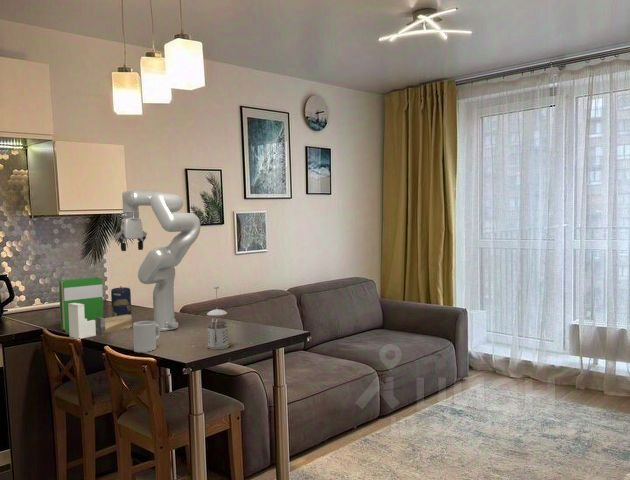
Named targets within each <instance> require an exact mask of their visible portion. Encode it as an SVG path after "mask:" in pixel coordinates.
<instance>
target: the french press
mask: <svg viewBox="0 0 630 480" xmlns="http://www.w3.org/2000/svg"><path fill="white" fill-rule="evenodd" d="M213 289H215V295H216V296H215V297H216V300H218V289H220V287H219V286H218V285H214V287H213ZM225 315H228V312H227V311H225V310H222V309H218V308H215V309H211V310H210V311H208V312H207V313H206V316H209V317H216V321H215V320H214V318H212V319H211V322H208V327H207V344H208V346H210V347H220V346H225V345H227V344H228V342H229V341H228V340H229V339H228V338H229V337H228V326H227V325H226V324H227V321H218V319H219V317H221V316H225Z"/></svg>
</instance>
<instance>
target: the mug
mask: <svg viewBox="0 0 630 480" xmlns="http://www.w3.org/2000/svg"><path fill="white" fill-rule="evenodd" d="M132 328H133V331H132V332H133V352H135V353H141V352H142V353H149V352H148V351H151V352H153V351H152V350H154V351H156V350H157V341H158V340H159V339H160V336H161V331H160V328H159V325H157V324H155V322H154V320H140V321H135V322H133V323H132ZM155 328H156V329H157V331H156V330H155ZM155 349H156V350H155Z"/></svg>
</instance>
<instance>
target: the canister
mask: <svg viewBox="0 0 630 480" xmlns="http://www.w3.org/2000/svg"><path fill="white" fill-rule="evenodd" d="M110 295H111V296H110V297H111V299H110V300H111V301H110V302H111V317H115V316H120V315H126V314H127V315H131V317H132V297H131V296H132V295H131V288H130V287H122V285H121V286H119V287H114V288H111V290H110ZM132 318H133V317H132Z"/></svg>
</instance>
